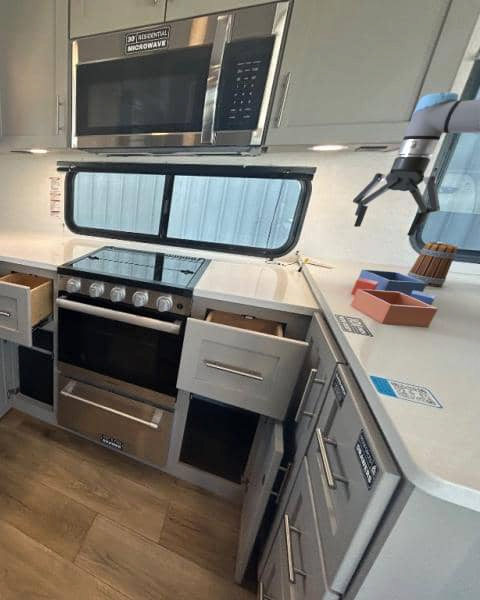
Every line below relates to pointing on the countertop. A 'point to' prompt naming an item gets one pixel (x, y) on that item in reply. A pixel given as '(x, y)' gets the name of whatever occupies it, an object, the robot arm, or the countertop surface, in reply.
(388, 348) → the countertop surface
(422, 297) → the blue block
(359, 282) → the red block
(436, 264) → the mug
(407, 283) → the blue bin
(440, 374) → the countertop surface
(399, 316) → the terracotta bin
